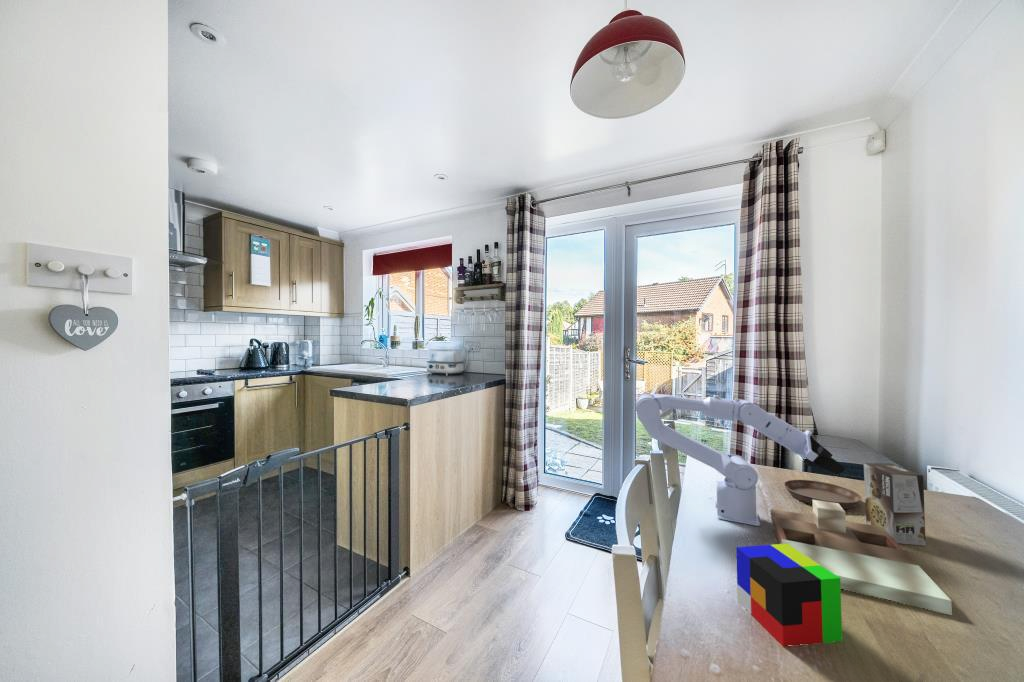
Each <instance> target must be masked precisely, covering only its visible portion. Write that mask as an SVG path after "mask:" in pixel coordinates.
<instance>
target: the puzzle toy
mask: <svg viewBox="0 0 1024 682" xmlns="http://www.w3.org/2000/svg"><path fill="white" fill-rule="evenodd" d="M735 551H736V552H735V553H736V554H735V555H736V583H737V585H736V587H737V589H736V590H737V593H736V594H737V602H738V604H740V605H741V607H742V608H743V609H745V608H746V609H747V610H748V611H747V610H746V609H745V610H746V611H747V613H749V614H750V613H751V614H750V616H751V617H753V618H754V620H755V621H756V622H757V623H758V624H759V625H760V626H761V627H762V628H763V629H764V630H765V631H766V632H768V633H769V635H771V636H772V638H774V640H775V641H777V642H778V644H780V646H781V647H783V648H785V647H784V646H788V645H800V644H810V645H816V644H815V643H821V644H826V643H825V642H831V643H834V642H833V641H841V642H843V623H842V622H843V620H842V618H843V617H842V616H843V615H842V594H841V593H842V590H841V584H840V578H839V577H838V576H836V575H835V574H833V573H832V572H830V571H829V570H827V569H826V568H824V567H822V566H821V565H819V564H818V563H816V562H815V561H813V560H812V559H810V558H808V557H807V556H805V555H804V554H802V553H801V552H799V551H798V550H796V549H795V548H793V547H791V546H790V545H788V544H780V543H776V544H762V545H749V546H748V545H746V546H736V547H735ZM800 646H801V645H800Z"/></svg>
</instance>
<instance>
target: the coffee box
mask: <svg viewBox="0 0 1024 682" xmlns="http://www.w3.org/2000/svg"><path fill="white" fill-rule="evenodd" d="M863 475H864V477H863V478H864V480H863V481H864V497H865V498H864V499H865V500H864V502H865V520H866V525H873V526H879V527H883V528H884V529H885V530H886V532H887V533H888V534H889V535H890V536H891V537H892V538H893V539H894V540H895V541H896V542H897V543H898V544H903V545H914V546H926V545H927V543H926V540H927V539H926V518H925V517H926V516H925V513H926V511H925V489H924V485H925V484H924V477H925V476H924V475H923V474H920V473H919V472H916V471H912V470H910V469H907V468H904V467H902V466H899V465H896V464H893V463H891V462H890V463H888V462H887V463H886V462H873V463H872V462H863Z"/></svg>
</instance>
